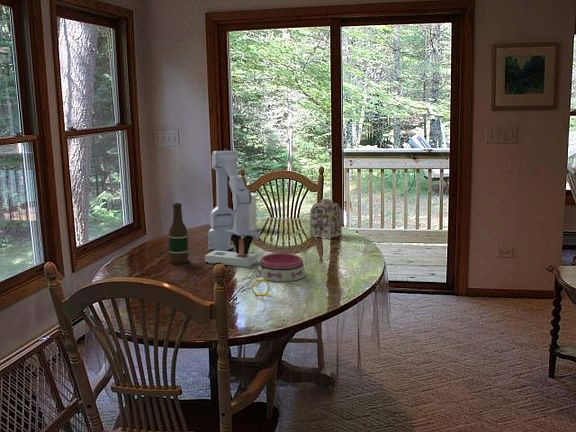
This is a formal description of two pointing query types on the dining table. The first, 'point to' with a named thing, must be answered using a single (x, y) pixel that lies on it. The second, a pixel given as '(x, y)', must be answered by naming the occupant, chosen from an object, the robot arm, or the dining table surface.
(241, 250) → the peg
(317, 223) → the decorative jar
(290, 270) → the dog bowl
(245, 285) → the dining table surface
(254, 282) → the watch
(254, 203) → the decorative container
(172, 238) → the beer bottle
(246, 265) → the hole block
